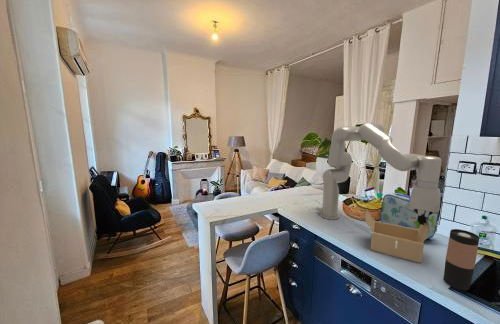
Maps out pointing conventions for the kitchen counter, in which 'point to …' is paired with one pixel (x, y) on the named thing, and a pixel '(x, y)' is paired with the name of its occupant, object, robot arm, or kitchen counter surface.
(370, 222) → the left flap
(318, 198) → the kitchen counter surface
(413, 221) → the lunch box
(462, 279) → the travel mug
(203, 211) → the kitchen counter surface
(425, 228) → the right flap
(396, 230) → the carton
